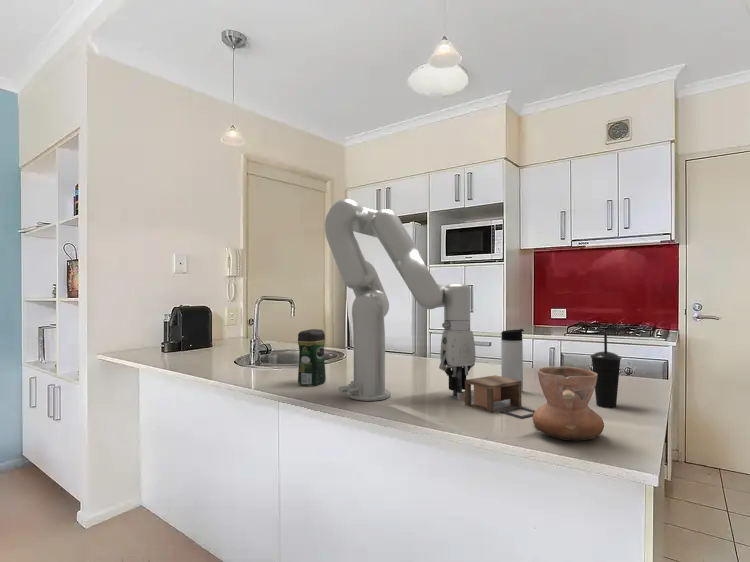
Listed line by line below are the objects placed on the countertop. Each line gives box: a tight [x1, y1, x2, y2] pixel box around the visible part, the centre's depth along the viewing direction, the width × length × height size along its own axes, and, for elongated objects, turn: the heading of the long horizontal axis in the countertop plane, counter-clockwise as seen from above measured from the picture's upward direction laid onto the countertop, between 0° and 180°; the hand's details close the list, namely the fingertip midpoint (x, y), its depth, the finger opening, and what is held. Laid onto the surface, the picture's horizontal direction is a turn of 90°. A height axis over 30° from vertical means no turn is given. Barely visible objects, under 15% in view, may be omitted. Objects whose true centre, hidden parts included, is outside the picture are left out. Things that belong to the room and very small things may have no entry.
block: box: [473, 385, 501, 407], centre depth 121 cm, size 5×5×5 cm
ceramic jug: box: [532, 365, 605, 442], centre depth 100 cm, size 18×14×14 cm
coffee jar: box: [297, 328, 327, 387], centre depth 154 cm, size 10×8×19 cm
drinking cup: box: [590, 332, 623, 409], centre depth 124 cm, size 8×8×20 cm
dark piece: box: [499, 406, 536, 420], centre depth 112 cm, size 8×7×2 cm
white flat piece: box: [452, 366, 511, 411], centre depth 124 cm, size 7×18×10 cm, turn 33°
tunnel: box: [464, 374, 523, 414], centre depth 119 cm, size 12×9×8 cm
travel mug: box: [500, 328, 524, 393], centre depth 138 cm, size 6×7×20 cm
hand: (457, 389), depth 131 cm, fingers closed on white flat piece, 2 cm apart
